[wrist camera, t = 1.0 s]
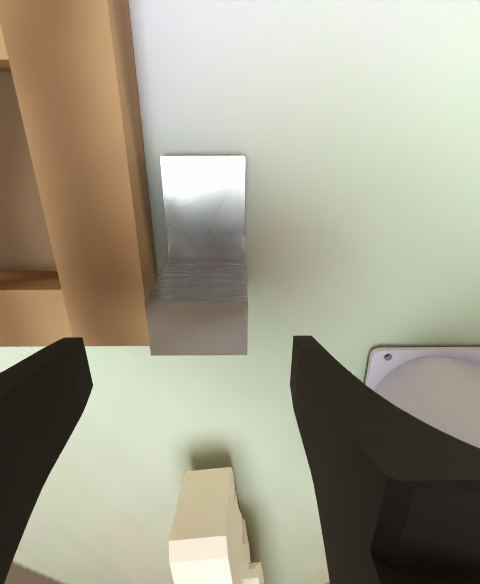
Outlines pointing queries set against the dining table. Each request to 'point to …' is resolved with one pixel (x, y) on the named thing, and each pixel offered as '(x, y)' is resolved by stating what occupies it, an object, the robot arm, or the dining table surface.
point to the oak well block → (72, 177)
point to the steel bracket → (201, 259)
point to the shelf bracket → (210, 533)
